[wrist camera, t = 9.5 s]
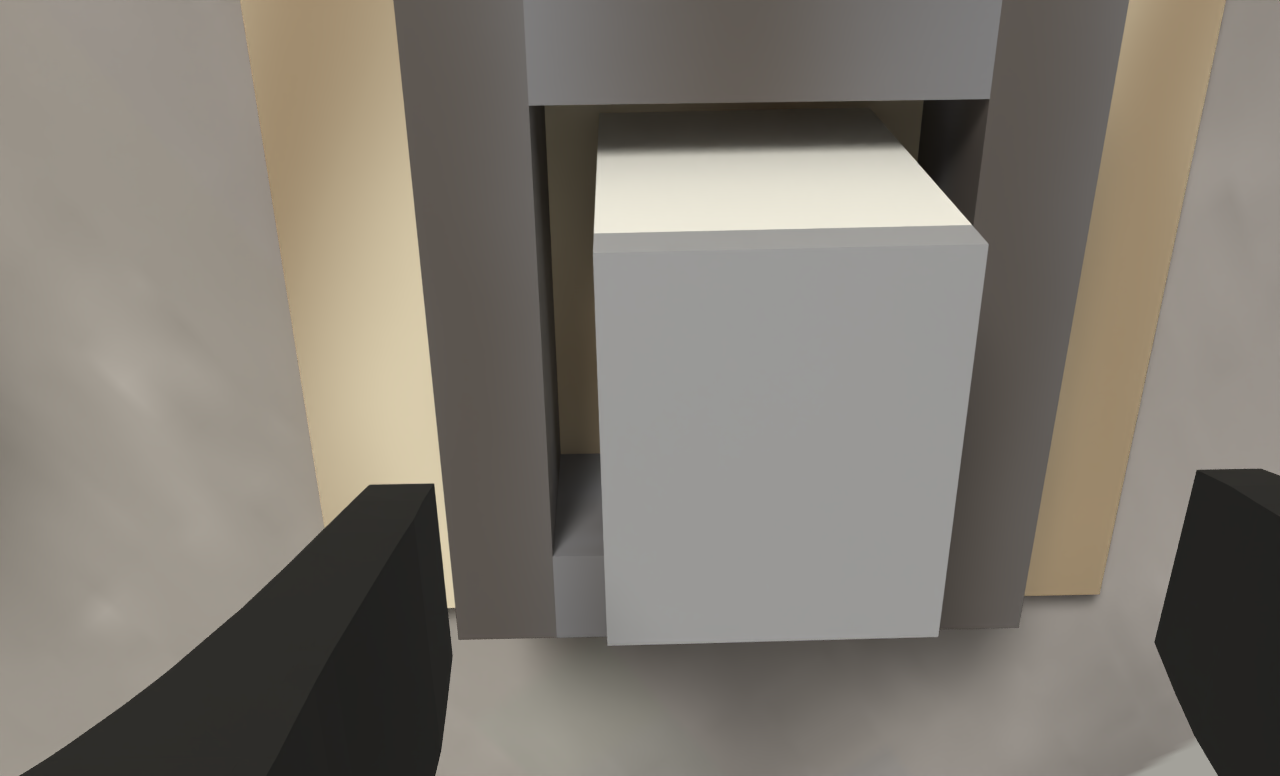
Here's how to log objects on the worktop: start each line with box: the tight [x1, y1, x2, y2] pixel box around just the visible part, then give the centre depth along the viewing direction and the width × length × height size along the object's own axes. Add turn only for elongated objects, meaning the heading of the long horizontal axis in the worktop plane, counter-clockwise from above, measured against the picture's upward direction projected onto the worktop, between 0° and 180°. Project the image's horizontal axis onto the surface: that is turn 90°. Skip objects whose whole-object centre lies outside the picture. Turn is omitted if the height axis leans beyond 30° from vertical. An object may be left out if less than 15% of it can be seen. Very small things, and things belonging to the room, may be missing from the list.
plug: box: [593, 107, 989, 646], centre depth 15 cm, size 4×5×6 cm
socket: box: [240, 0, 1226, 640], centre depth 17 cm, size 14×13×4 cm
